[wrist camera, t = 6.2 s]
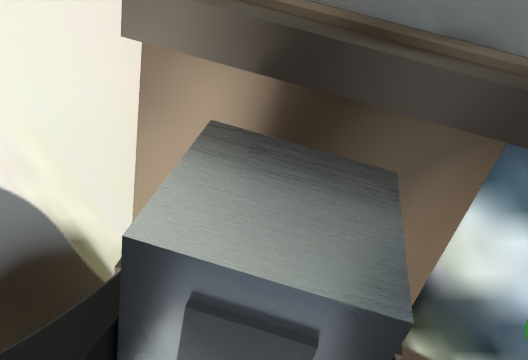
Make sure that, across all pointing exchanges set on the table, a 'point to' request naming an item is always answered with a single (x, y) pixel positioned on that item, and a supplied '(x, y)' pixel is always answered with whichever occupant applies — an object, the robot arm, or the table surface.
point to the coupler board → (330, 100)
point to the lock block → (265, 257)
